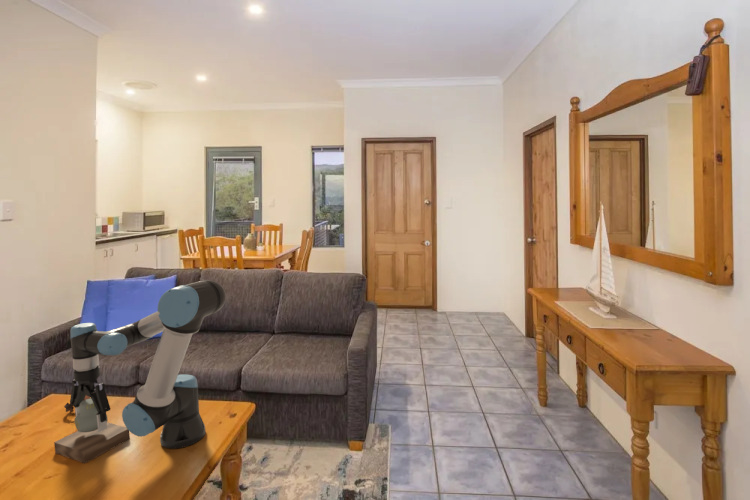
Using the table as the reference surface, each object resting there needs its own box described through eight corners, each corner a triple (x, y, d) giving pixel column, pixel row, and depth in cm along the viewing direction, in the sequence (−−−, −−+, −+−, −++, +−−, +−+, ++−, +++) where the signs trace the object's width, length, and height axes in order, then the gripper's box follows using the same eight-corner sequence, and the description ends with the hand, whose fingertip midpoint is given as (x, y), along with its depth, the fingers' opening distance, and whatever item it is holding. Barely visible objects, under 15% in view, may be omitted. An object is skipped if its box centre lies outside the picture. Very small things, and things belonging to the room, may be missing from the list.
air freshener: (73, 427, 147) (71, 400, 146) (100, 418, 153) (98, 392, 152) (81, 438, 140) (79, 410, 139) (109, 428, 146) (107, 402, 145)
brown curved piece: (87, 417, 169) (73, 403, 166) (70, 425, 171) (56, 411, 168) (106, 397, 180) (93, 383, 177) (90, 405, 182) (77, 391, 179)
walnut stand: (129, 438, 152) (128, 428, 151) (85, 463, 137) (83, 452, 137) (101, 430, 158) (100, 420, 157) (55, 453, 143) (54, 442, 143)
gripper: (119, 368, 143) (124, 427, 146) (76, 359, 152) (81, 415, 155) (97, 376, 136) (103, 438, 139) (54, 366, 145) (59, 425, 148)
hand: (91, 426), depth 147 cm, fingers closed on air freshener, 11 cm apart
